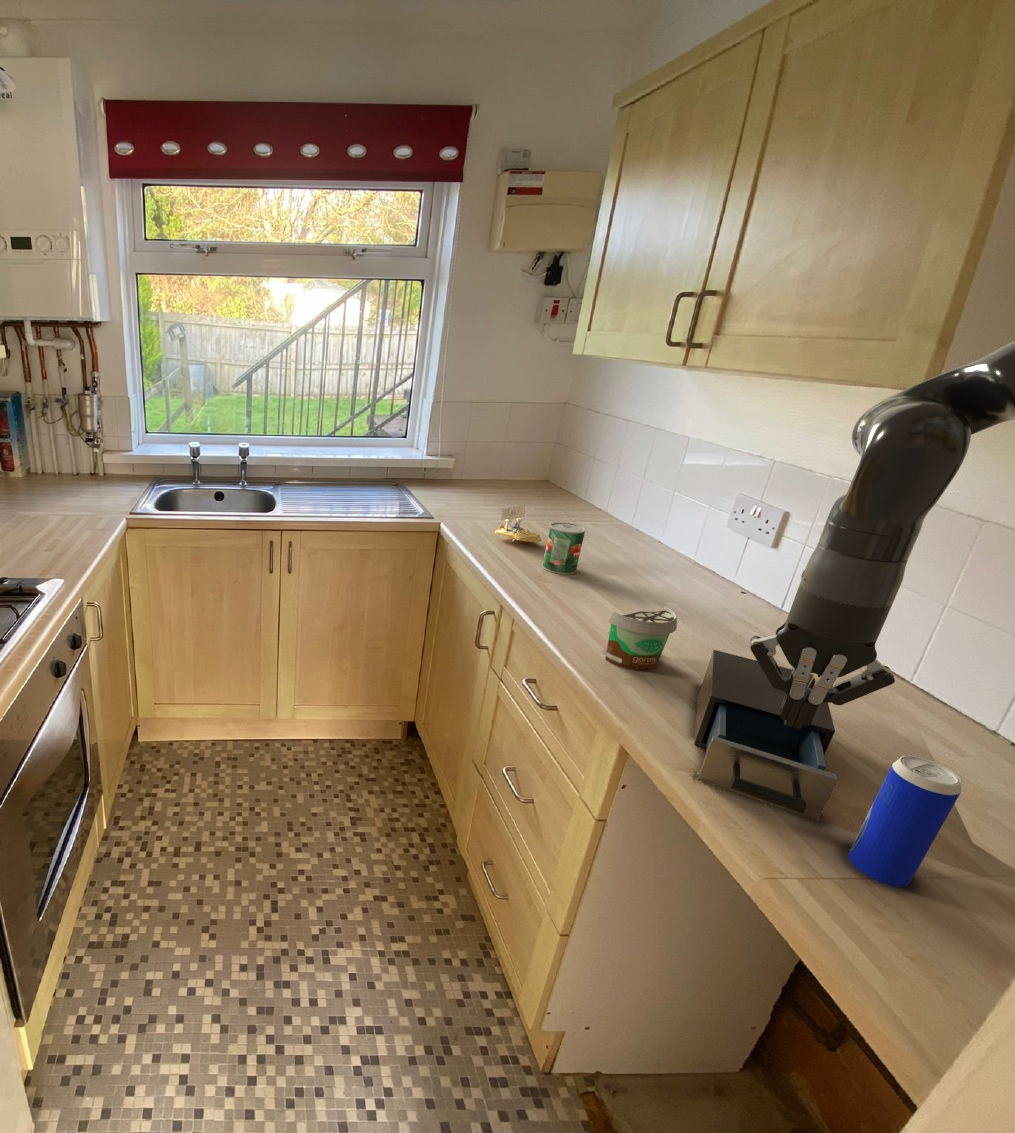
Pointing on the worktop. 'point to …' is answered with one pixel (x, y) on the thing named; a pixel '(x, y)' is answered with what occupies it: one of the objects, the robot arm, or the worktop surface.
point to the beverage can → (904, 820)
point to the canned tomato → (563, 548)
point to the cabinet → (748, 695)
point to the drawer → (767, 761)
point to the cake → (516, 525)
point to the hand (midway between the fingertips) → (792, 724)
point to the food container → (639, 638)
